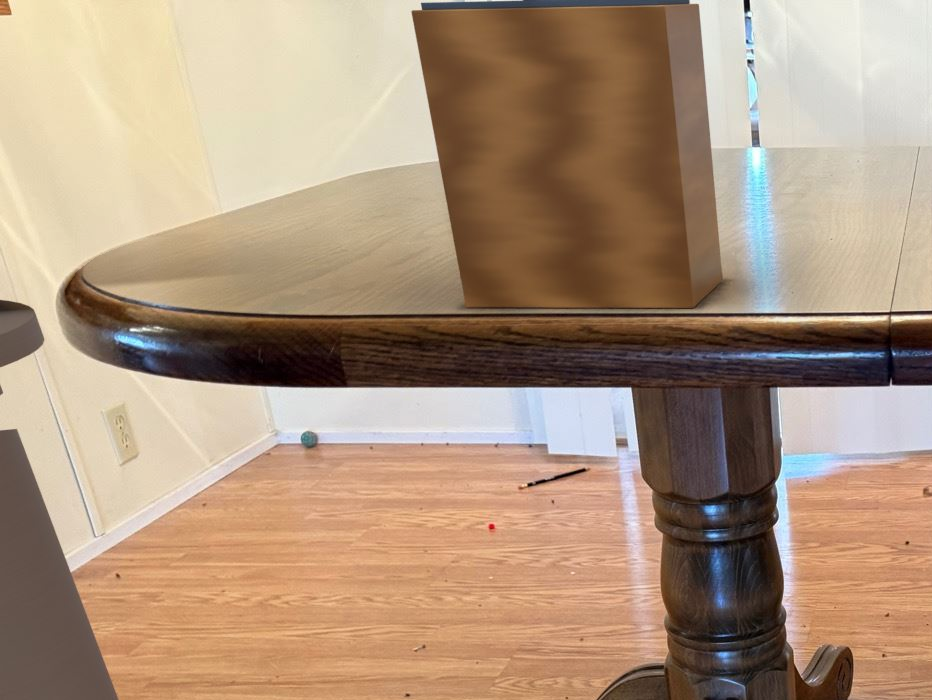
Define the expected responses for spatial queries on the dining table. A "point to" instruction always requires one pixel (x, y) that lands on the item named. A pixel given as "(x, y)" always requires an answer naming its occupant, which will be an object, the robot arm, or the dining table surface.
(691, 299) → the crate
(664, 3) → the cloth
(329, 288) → the dining table surface
